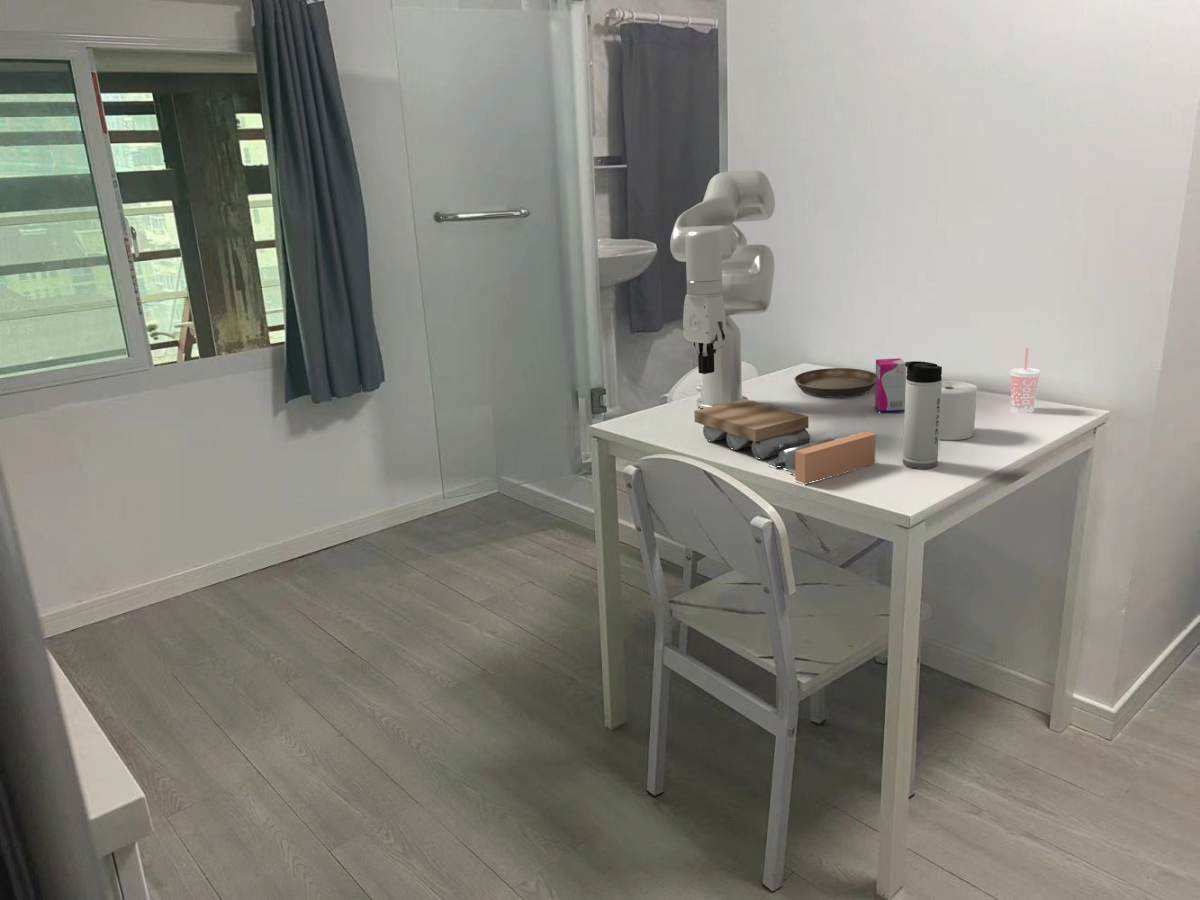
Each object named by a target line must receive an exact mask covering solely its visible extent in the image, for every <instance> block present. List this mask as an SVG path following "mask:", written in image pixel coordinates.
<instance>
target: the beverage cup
mask: <svg viewBox="0 0 1200 900" xmlns="http://www.w3.org/2000/svg"><path fill="white" fill-rule="evenodd" d="M1028 354H1029V348H1028V347H1026V348H1025V355H1024V366H1023V367H1014V368H1011V369H1010V370H1009V374H1010V410H1011V409H1012V410H1014V411H1018V412H1017V413H1019V412H1029V413H1031V412H1030V411H1033V412H1034V410H1035V404H1036V403H1035V402H1036V396H1037V389H1038V386H1039V385H1038V383H1039V377H1040V376H1041V372H1042V371H1041V369H1038V368H1032V367H1028V357H1029V355H1028ZM1012 410H1011V411H1012ZM1014 411H1013V412H1014Z"/></svg>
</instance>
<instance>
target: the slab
mask: <svg viewBox="0 0 1200 900" xmlns="http://www.w3.org/2000/svg"><path fill="white" fill-rule="evenodd" d="M693 414H694V423H698V424H699V425H703V426H704V425H706V426H709V427H712V428H715V429H718V430H721V431H724V432H727V433H730V434H733V435H736V436H739V437H742V438H745V439H748V440H751V441H754V442H757V441H759V440H763V439H767V438H771V437H775V436H778V435H782V434H786V433H790V432H794V431H797V430H801V429H806V430H807V429H809V425H810V424H809V416H808V415H806V414H801V413H799V412H794V411H790V410H787V409H783V408H779V407H776V406H773V405H769V404H765V403H762V402H757V401H755V400H750V399H748V400H747V399H743V400H738V401H734V402H730V403H725V404H721V405H717V406H713V407H708V408H704V409H702V408H700V409H697V410H694V413H693Z"/></svg>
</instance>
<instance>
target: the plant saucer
mask: <svg viewBox="0 0 1200 900" xmlns="http://www.w3.org/2000/svg"><path fill="white" fill-rule="evenodd" d="M793 381H794V382H795V384H796V385H797V386H798V387H799V389H800V390H802V392H804V393H806V394H808V395H811V396H816V397H821V398H823V397H824V398H849V397H855V396H856V395H857V396H861V395H863V394H866V393H868V392H869V391H870V390H872V389H873V388H874V387H875V385H876V372H872V371H869V370H866V369H860V368H850V367H849V368H847V367H845V368H844V367H834V368H831V367H830V368H821V369H820V368H818V369H813V370H808V371H804V372H801V373H799V374H797V375H796V376H794V379H793Z"/></svg>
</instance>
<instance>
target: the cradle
mask: <svg viewBox="0 0 1200 900" xmlns="http://www.w3.org/2000/svg"><path fill="white" fill-rule="evenodd" d="M767 463H768V464H769V465H772V466H774V467H777V466H781V465H780V463H779V457H778V458H775V459H772V460H771V459H770V460H768V462H767ZM788 472H790V473H792V474H795V466H794V467H790V468H788V471H787V473H788Z"/></svg>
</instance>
